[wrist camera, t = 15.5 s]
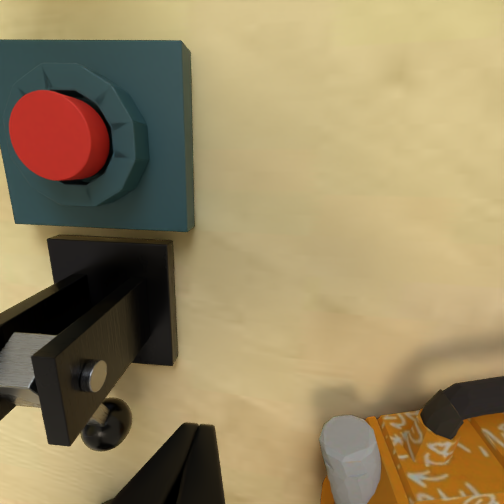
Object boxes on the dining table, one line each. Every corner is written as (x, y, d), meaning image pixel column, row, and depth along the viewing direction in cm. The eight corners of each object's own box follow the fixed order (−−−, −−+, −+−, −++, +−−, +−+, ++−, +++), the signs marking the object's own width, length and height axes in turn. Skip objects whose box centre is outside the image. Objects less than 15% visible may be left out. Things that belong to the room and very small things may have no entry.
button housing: (194, 226, 20) (178, 239, 17) (35, 219, 21) (-12, 230, 17) (190, 51, 17) (169, 24, 14) (6, 50, 18) (-57, 24, 15)
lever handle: (143, 407, 23) (128, 457, 21) (102, 403, 23) (83, 453, 21) (73, 327, 14) (34, 400, 12) (8, 323, 14) (-42, 393, 12)
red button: (114, 180, 16) (95, 182, 15) (43, 177, 17) (16, 179, 15) (106, 98, 15) (85, 90, 14) (30, 96, 16) (0, 88, 14)
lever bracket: (178, 356, 23) (109, 490, 14) (76, 348, 23) (-58, 472, 14) (173, 240, 20) (84, 306, 11) (58, 234, 21) (-119, 293, 12)
